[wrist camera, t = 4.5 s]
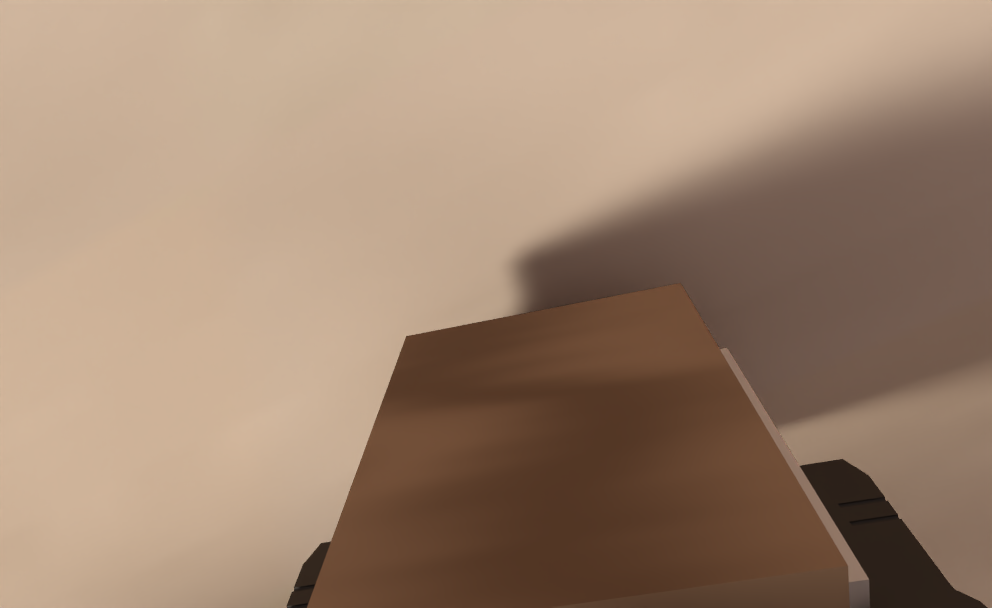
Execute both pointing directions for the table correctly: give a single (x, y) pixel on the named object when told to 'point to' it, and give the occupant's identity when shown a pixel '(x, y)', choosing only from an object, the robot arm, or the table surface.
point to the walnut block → (576, 474)
